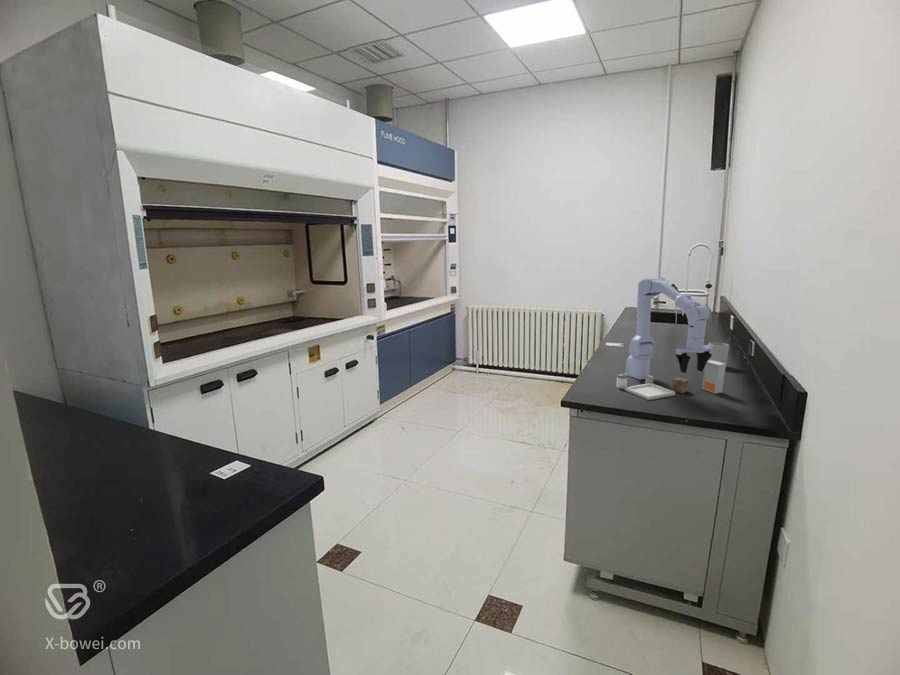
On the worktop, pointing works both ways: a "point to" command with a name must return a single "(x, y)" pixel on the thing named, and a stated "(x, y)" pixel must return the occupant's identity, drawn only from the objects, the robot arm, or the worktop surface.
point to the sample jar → (621, 381)
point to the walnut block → (680, 385)
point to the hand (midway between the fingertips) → (691, 371)
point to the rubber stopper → (648, 380)
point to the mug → (719, 352)
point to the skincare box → (713, 376)
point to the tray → (649, 391)
